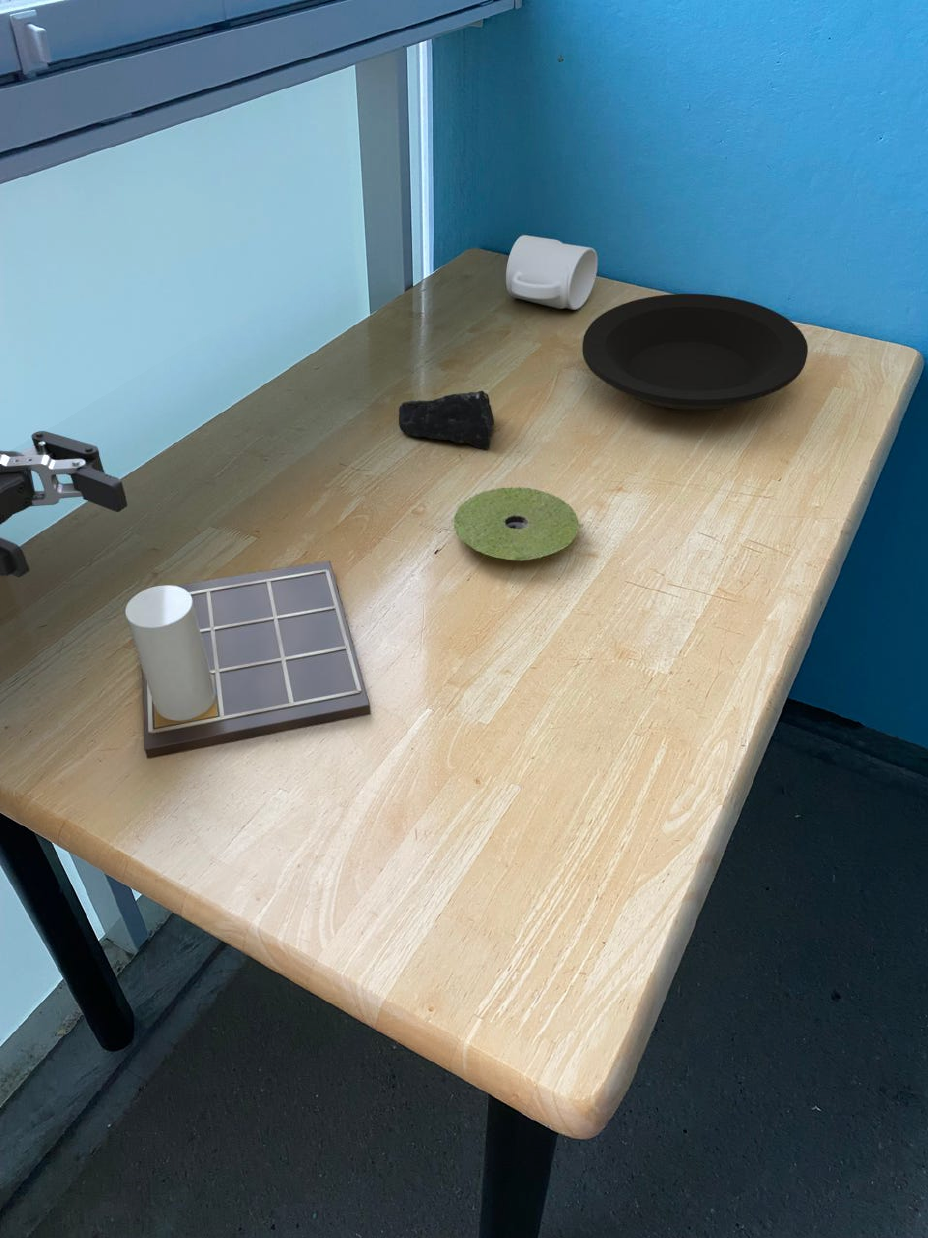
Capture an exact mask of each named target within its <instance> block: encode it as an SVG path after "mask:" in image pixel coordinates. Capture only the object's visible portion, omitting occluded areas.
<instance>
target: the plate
mask: <svg viewBox="0 0 928 1238" xmlns="http://www.w3.org/2000/svg"><path fill="white" fill-rule="evenodd" d="M581 346H582V348H581V350H582V351H581V352H582V357H583V360H584V362H585V365H586V366H587V367H588V368H589V369H590V371H591V372H592V373H593V374H594V375H595V376H596V377H597V378H598V379H600V380H601V381H603V382H604V383H605V384H608V385H609V386H611V387H612V388H614V389H615V390H618V391H620V392H622V393H624V394H626V395H628V396H630V397H632V398H634V399H637V400H639V401H641V402H644V403H647V404H650V405H654V406H659V407H662V408H668V409H674V410H684V411H685V410H686V411H708V410H717V409H724V408H729V407H734V406H737V405H741V404H743V403H748V402H750V401H754V400H758V399H760V398H763V397H766V396H769V395H771V394H774V393H776V392H778V391H780V390H782V389H784V388H785V387H787V386H788V385H790V384H791V383H793V382H794V381H795V380H796V379H797V377H799V375H800V374H801V373H802V371H803V370H804V368H805V366H806V362H807V359H808V353H809V346H808V341H807V339H806V336H805V335H804V333H803V332H802V330H800V329H799V327H798V326H797V325H796V324H795V323H794V322H792V321H791V320H789V319H788V318H787V317H785V316H784V315H782V314H780V313H778V312H776V311H775V310H773V309H770V308H768V307H766V306H763V305H760V304H757V303H754V302H750V301H747V300H743V299H739V298H736V297H729V296H723V295H717V294H716V295H715V294H706V293H705V294H704V293H672V294H671V293H670V294H661V295H660V294H659V295H654V296H648V297H644V298H643V297H642V298H638V299H634V300H631V301H628V302H625V303H622V304H619V305H617V306H615V307H613V308H610V309H609V310H607V311H605V312H603V313H602V314H600V315H599V316H597V318H595V319H594V321H592V322H591V323H590V325H588V327H587V329H586V330H585V331H584V335H583V339H582V345H581Z"/></svg>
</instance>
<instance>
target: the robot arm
mask: <svg viewBox="0 0 928 1238" xmlns="http://www.w3.org/2000/svg"><path fill="white" fill-rule="evenodd" d="M30 436H31V440H32V443H33V445H32V446H30V447H28V448H26V449H25V450H23V451H22V452H20V451H15V450H1V449H0V525H2V524H4V523H5V522H7V521H8V520H9V519H10V518H11V517H12V516H14V515H15V514H18V513H20V512H23V511H25V510H26V509H28V508H30V507H40V506H42V507H43V506H55V505H57V504H59V502H60V500H61V499H68V498H69V499H71V498H82V499H83V500H84V501H86V502H90V503H92V504H95V505H97V506H100V507H102V508H105V509H108V510H111V511H113V512H116V513H119V512H121V511H122V510H124V509H126V508H127V507H128V502H127V497H126V492H125V489H124V486H123V485H124V484H123V482H122V480H121V479H120V478H118V477H117V476H113V475H111V474H108V473H106V472H105V469H104V467H103V464H102V459H101V456H100V451H99V447H98V446H97V445H94V444H90V443H88V442H87V443H86V442H83V441H80V440H77V439H73V438H70V437H67V436H63V435H60V434H56V433H52V432H50V431H46V430H39V431H36V432H34V433H32V434H31V435H30ZM32 472H35V473H36V474H37V475H38V476H39V479H40V481H41V484H42V488H43V490H36V489H35V484H34V480H33V475H32ZM57 475H58V476H59V475H68V476H70V479H71V483H68V482H67V483H62V482H60V481H59V478H58V476H57ZM29 572H30V567H29V563H28V561H27V559H26V557H25V553H24V551H23V549H22V548H21V547H20V546H19V544H17V543H14V542H12V541H10V540H8V539H6V538H3V537H1V536H0V576H5V577H8V576H10V575H12V576H14V577H16V578H22V577H23V576H25V575H26V574H27V573H29Z"/></svg>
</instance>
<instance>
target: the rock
mask: <svg viewBox="0 0 928 1238" xmlns="http://www.w3.org/2000/svg"><path fill="white" fill-rule="evenodd" d="M490 403H491V401H490V397H489V394H488V393H487V392H485V391H484V390H479V391H469V392H459V393H452V394H449V395H444V396H442V397H438V398H435V399H432V400H409V401H403V402H402V403H401V405H400V406H399V407H398V426H399V428H400V430H401V432H402V433H403V434H404V435H408V436H412V437H417V438H427V439H432V440H438V441H448V440H449V441H451V442H452V443H457V444H468V445H470V446H472V447H475V448H478V449H481V450H485V451H488V450H489V448H490V446H491V438H492V434H493V431H494V430H493V428H494V426H495V418H494V413H493V409H492V405H491V404H490Z"/></svg>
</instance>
